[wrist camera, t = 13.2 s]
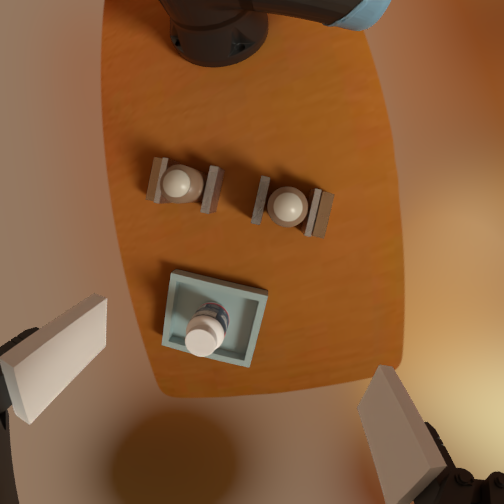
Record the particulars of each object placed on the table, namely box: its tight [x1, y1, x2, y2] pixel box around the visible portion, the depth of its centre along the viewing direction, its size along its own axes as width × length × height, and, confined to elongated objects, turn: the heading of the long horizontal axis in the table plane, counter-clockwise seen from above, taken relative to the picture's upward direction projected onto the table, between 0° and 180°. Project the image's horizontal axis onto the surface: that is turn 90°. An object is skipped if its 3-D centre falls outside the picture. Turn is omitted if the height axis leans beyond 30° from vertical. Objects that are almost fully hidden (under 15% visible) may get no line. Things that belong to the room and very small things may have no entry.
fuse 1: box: [160, 164, 208, 203], centre depth 37 cm, size 5×5×9 cm
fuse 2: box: [267, 187, 308, 227], centre depth 37 cm, size 5×5×9 cm
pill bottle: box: [185, 302, 230, 357], centre depth 40 cm, size 5×5×9 cm
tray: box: [162, 269, 268, 367], centre depth 44 cm, size 12×14×2 cm
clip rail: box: [146, 157, 334, 238], centre depth 39 cm, size 6×25×5 cm, turn 78°
